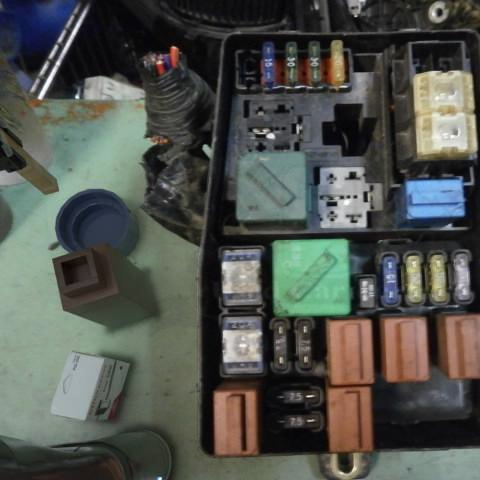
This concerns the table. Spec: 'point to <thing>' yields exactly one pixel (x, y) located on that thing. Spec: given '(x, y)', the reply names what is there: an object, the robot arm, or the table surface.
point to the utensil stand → (102, 286)
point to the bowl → (96, 222)
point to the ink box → (89, 387)
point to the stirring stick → (33, 170)
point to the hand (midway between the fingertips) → (15, 157)
